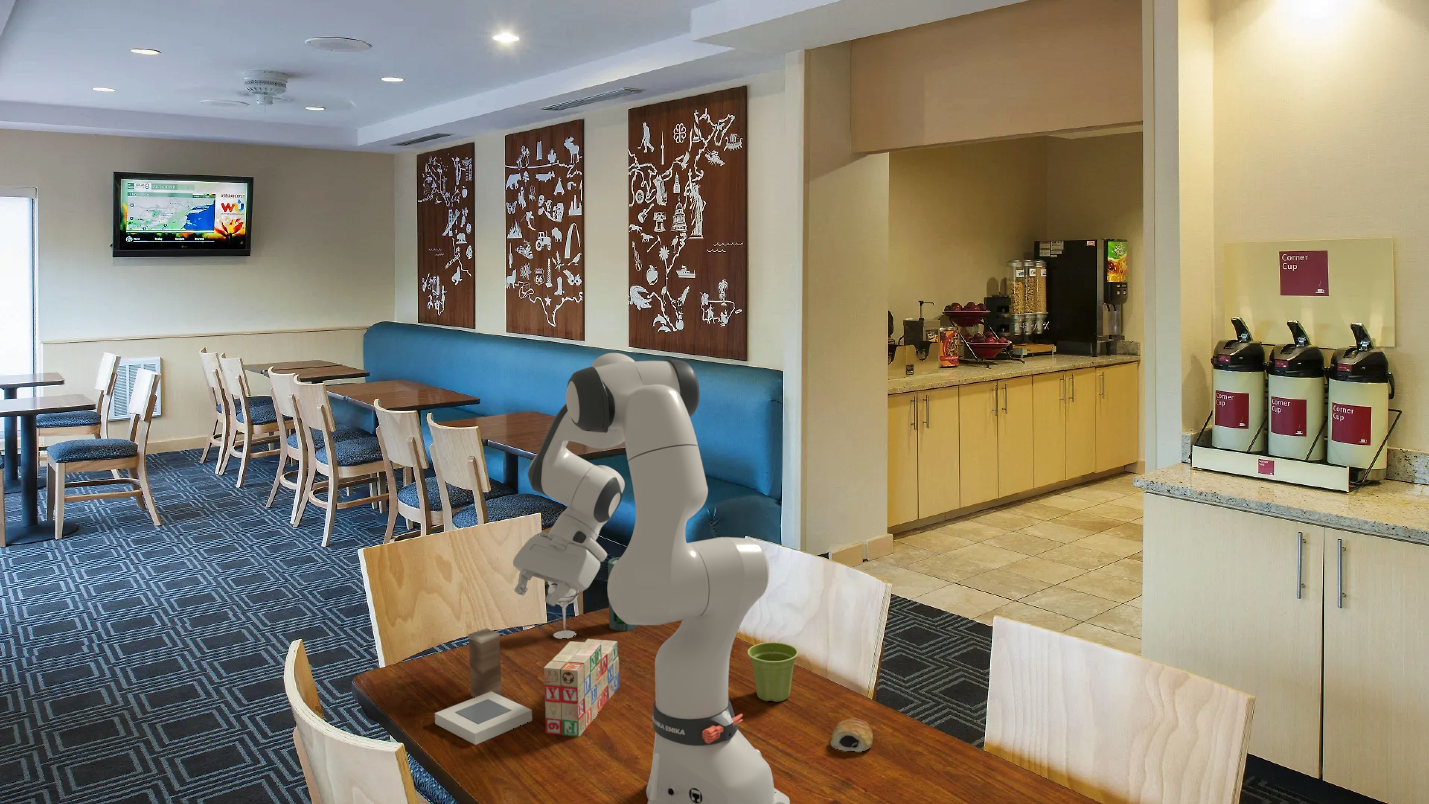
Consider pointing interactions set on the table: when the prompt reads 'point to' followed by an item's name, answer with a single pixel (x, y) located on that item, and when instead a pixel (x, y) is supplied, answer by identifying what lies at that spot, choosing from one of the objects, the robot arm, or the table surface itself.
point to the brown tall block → (484, 662)
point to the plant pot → (773, 669)
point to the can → (614, 620)
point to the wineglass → (564, 608)
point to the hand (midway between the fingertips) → (533, 598)
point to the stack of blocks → (579, 685)
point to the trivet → (483, 717)
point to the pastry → (852, 735)
